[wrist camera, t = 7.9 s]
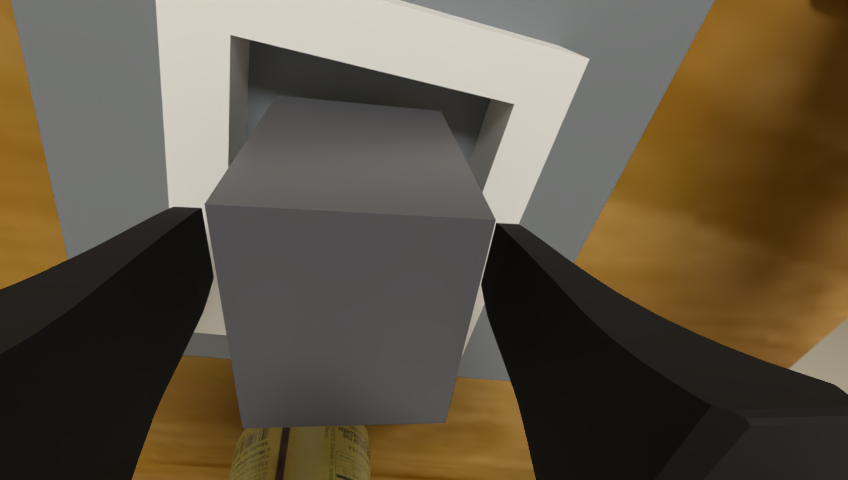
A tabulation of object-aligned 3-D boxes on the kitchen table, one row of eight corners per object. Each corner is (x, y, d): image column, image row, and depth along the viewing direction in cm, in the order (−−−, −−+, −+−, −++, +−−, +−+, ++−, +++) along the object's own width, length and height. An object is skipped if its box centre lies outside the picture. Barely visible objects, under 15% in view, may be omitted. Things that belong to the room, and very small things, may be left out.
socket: (713, -52, 13) (806, -56, 10) (503, 361, 22) (522, 417, 19) (-19, -331, 8) (-197, -466, 6) (103, 325, 18) (56, 391, 15)
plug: (434, 99, 13) (495, 220, 7) (414, 247, 16) (444, 422, 10) (283, 84, 12) (204, 204, 6) (291, 242, 15) (242, 428, 9)
